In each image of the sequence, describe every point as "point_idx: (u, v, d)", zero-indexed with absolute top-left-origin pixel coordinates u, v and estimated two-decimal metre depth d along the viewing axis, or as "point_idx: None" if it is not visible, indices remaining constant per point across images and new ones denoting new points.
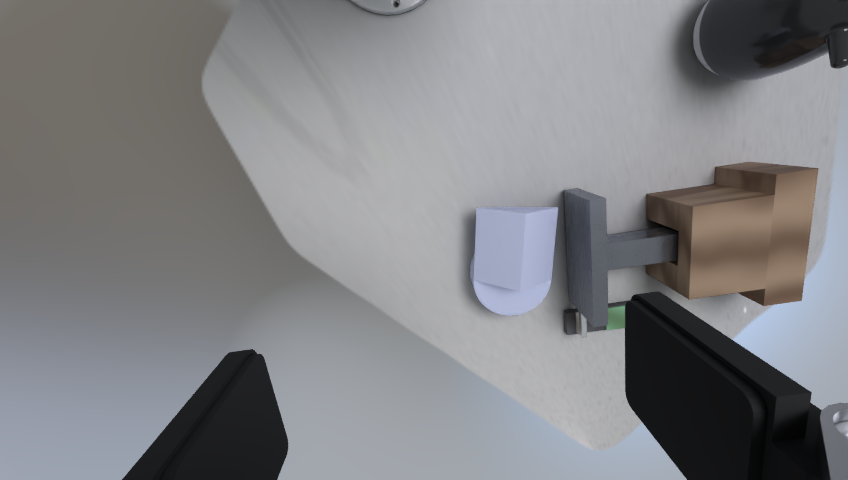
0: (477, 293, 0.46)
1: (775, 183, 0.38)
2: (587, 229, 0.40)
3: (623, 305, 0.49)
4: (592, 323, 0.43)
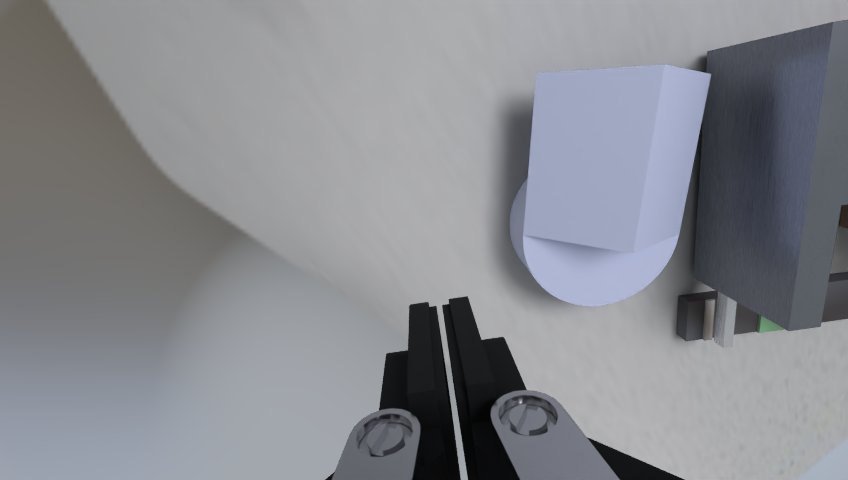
0: (529, 262, 0.23)
1: None
2: (806, 104, 0.17)
3: None
4: (784, 322, 0.20)
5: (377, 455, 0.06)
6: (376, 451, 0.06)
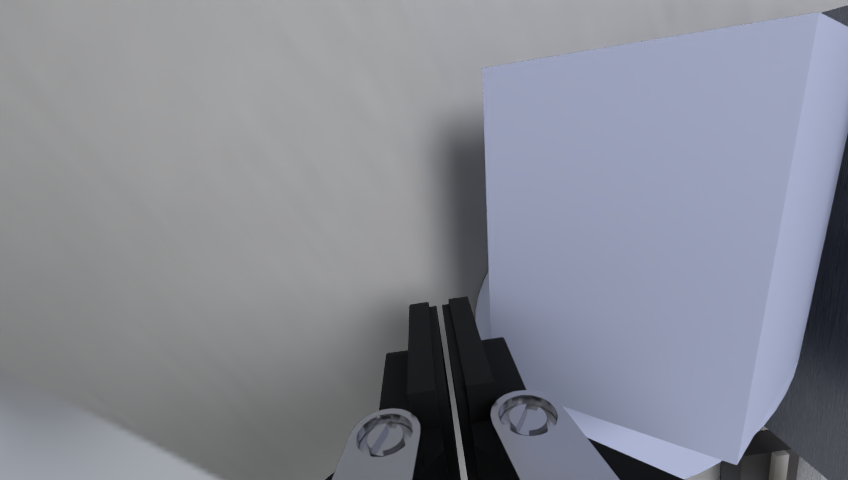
0: None
1: None
2: None
3: None
4: None
5: (377, 455, 0.06)
6: (376, 451, 0.06)
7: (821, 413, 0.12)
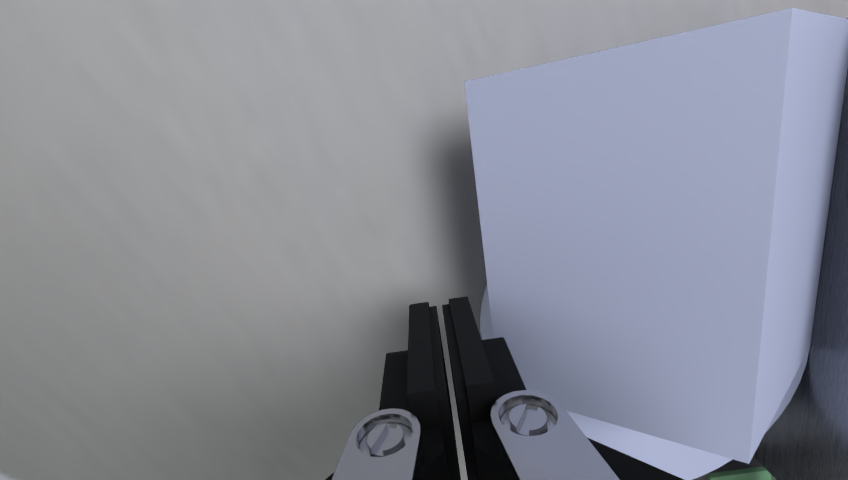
0: None
1: None
2: None
3: None
4: None
5: (377, 455, 0.06)
6: (376, 451, 0.06)
7: (790, 432, 0.12)
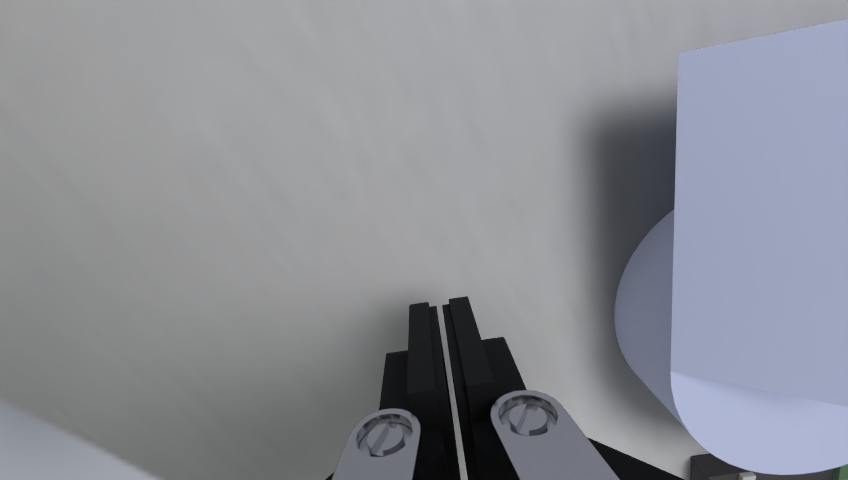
0: (686, 416, 0.12)
1: None
2: None
3: None
4: None
5: (377, 455, 0.06)
6: (376, 451, 0.06)
7: None
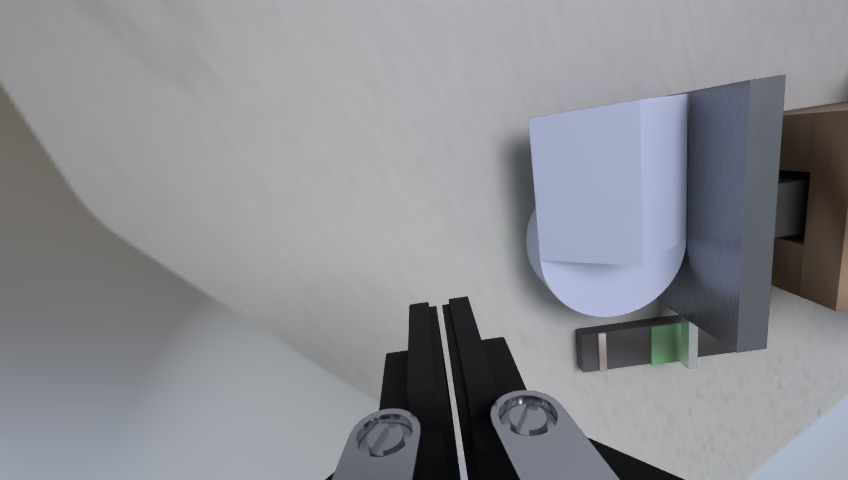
0: (550, 284, 0.25)
1: None
2: (736, 149, 0.19)
3: None
4: (733, 344, 0.21)
5: (377, 455, 0.06)
6: (376, 451, 0.06)
7: (683, 286, 0.25)
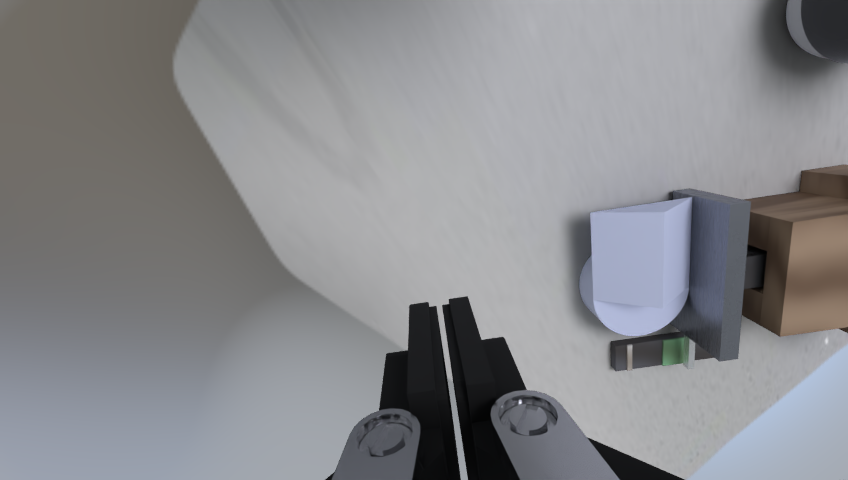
0: (599, 315, 0.37)
1: None
2: (721, 240, 0.32)
3: None
4: (717, 356, 0.34)
5: (377, 455, 0.06)
6: (376, 451, 0.06)
7: (686, 315, 0.38)
